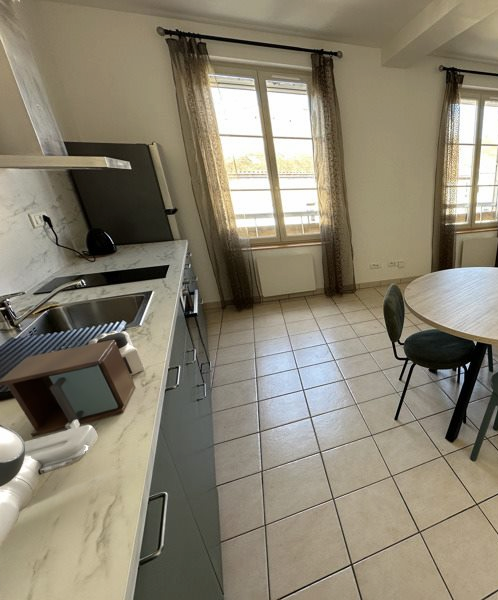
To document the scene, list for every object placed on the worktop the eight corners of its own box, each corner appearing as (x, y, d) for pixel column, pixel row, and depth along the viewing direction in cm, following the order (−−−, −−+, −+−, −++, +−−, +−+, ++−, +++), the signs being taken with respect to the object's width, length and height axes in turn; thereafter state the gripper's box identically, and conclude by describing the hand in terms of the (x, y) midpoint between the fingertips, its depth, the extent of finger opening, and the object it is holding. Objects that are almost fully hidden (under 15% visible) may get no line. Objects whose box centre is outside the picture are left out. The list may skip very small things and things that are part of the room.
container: (145, 369, 104) (130, 333, 98) (116, 382, 98) (98, 345, 93) (135, 363, 107) (120, 327, 102) (106, 375, 102) (88, 338, 96)
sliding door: (65, 431, 78) (39, 386, 73) (74, 417, 82) (50, 374, 77) (111, 418, 81) (89, 375, 76) (118, 406, 85) (98, 364, 80)
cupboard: (32, 437, 78) (-3, 382, 72) (55, 407, 88) (26, 357, 82) (123, 412, 85) (98, 360, 79) (135, 387, 95) (114, 339, 89)
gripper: (73, 448, 60) (101, 402, 72) (-88, 494, 53) (-28, 435, 64) (88, 472, 62) (112, 425, 74) (-65, 520, 55) (-11, 459, 67)
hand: (46, 430), depth 69 cm, fingers open, 8 cm apart
